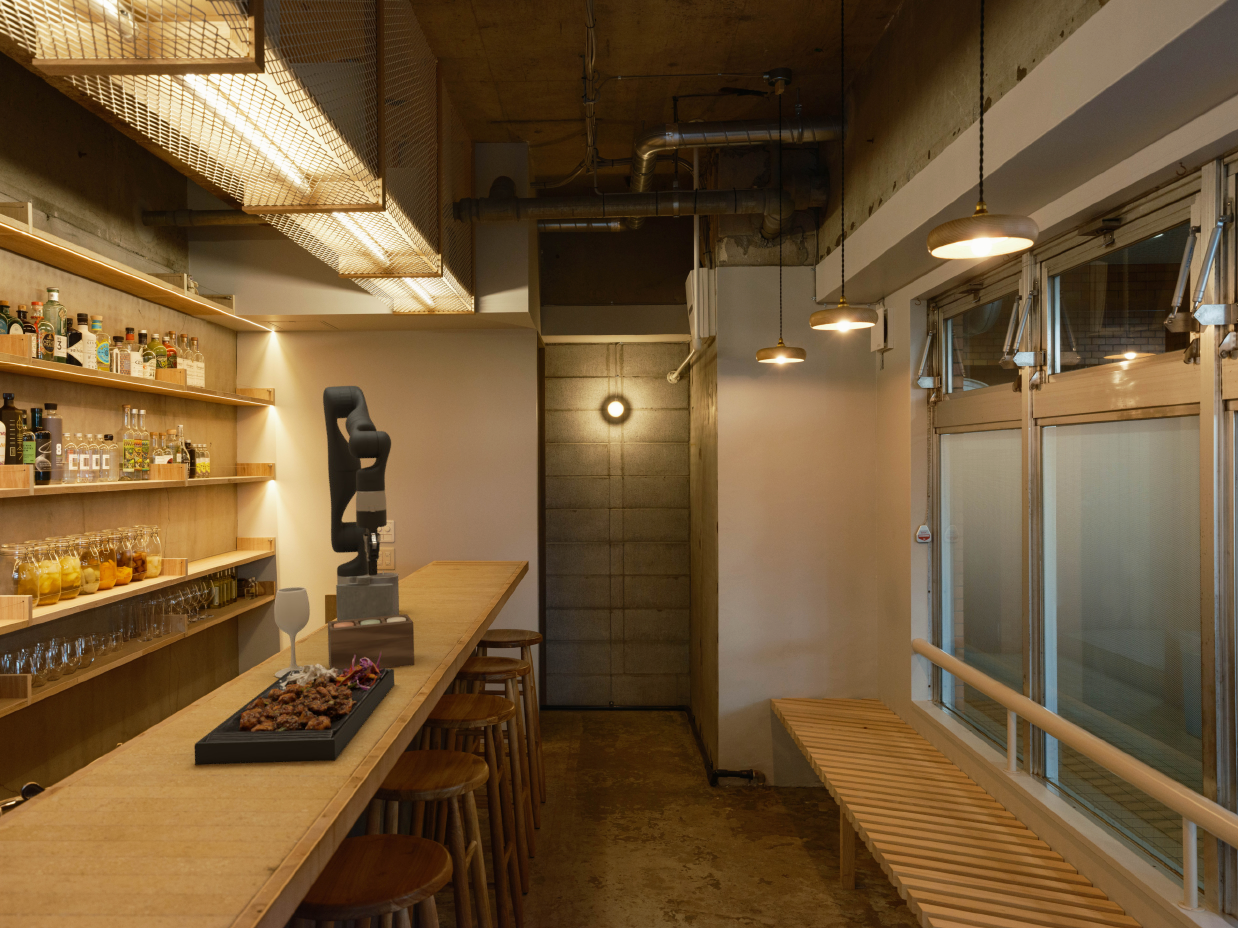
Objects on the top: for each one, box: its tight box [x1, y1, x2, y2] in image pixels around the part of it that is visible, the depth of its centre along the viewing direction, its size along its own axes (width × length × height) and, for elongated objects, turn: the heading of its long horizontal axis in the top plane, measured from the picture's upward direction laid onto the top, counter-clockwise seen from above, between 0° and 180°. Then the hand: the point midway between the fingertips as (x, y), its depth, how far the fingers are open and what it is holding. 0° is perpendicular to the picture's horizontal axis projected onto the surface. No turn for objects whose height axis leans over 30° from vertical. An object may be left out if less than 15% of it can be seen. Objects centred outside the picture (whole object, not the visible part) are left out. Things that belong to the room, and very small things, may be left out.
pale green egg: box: [361, 620, 380, 625], centre depth 206 cm, size 5×5×4 cm
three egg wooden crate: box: [327, 613, 415, 670], centre depth 206 cm, size 11×20×11 cm, turn 113°
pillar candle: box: [369, 570, 400, 615], centre depth 265 cm, size 10×10×15 cm
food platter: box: [193, 651, 395, 766], centre depth 165 cm, size 45×25×10 cm, turn 3°
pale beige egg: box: [387, 617, 406, 623], centre depth 209 cm, size 5×5×4 cm
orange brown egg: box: [334, 622, 354, 628], centre depth 204 cm, size 5×5×4 cm
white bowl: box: [273, 586, 311, 679], centre depth 199 cm, size 9×9×21 cm
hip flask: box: [335, 576, 394, 621], centre depth 224 cm, size 16×4×20 cm, turn 87°
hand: (372, 574), depth 208 cm, fingers closed
